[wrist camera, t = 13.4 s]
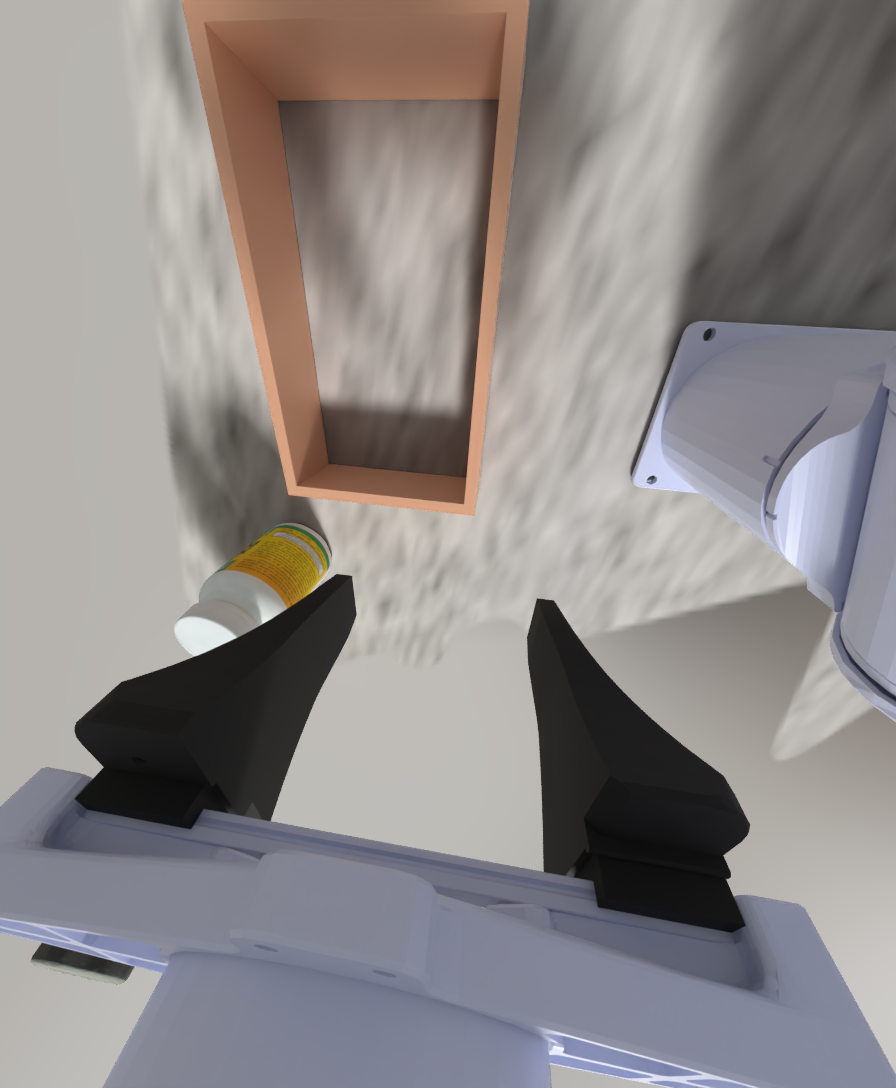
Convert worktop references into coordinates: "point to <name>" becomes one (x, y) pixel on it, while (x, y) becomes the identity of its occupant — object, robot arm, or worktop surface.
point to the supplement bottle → (255, 587)
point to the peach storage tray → (265, 198)
